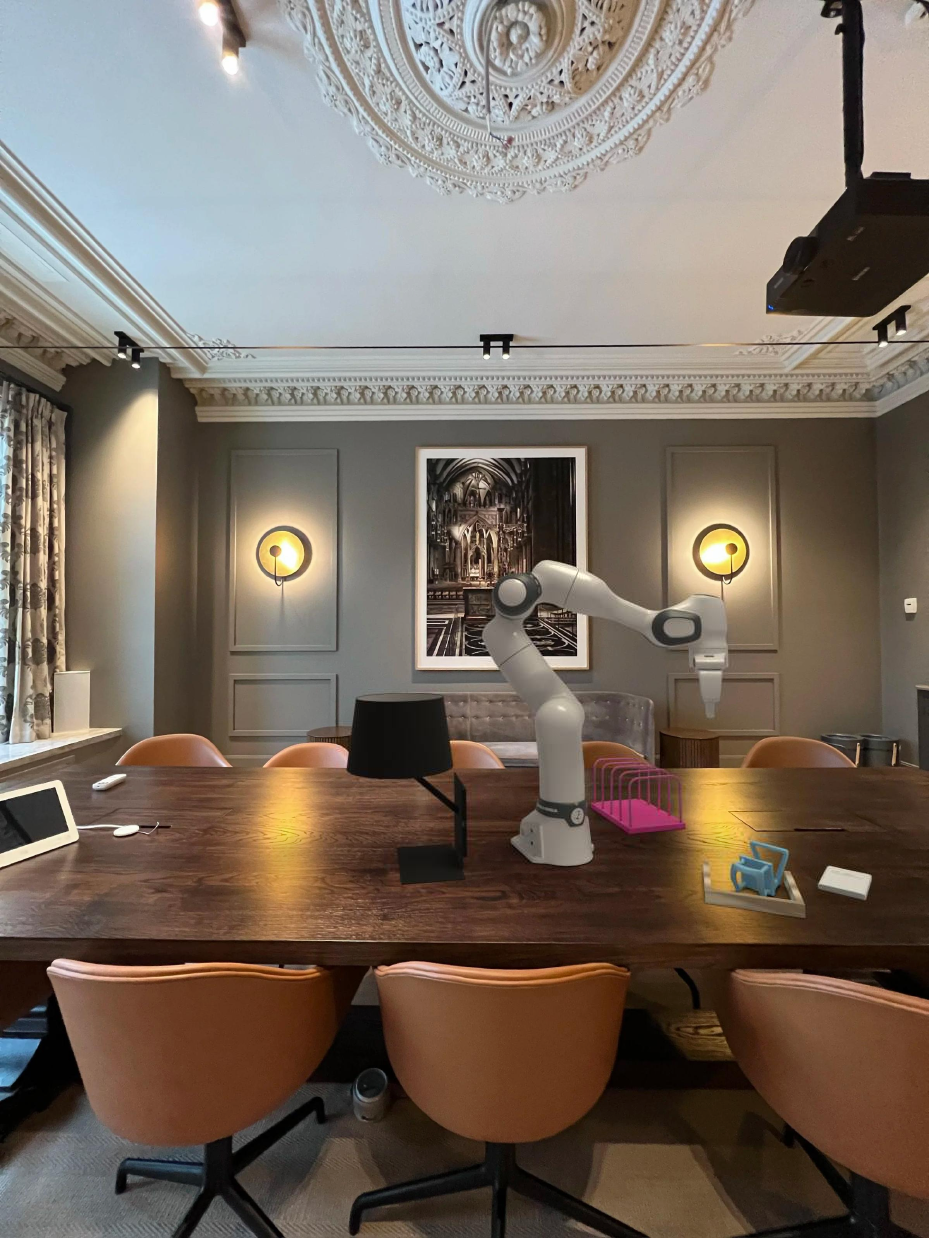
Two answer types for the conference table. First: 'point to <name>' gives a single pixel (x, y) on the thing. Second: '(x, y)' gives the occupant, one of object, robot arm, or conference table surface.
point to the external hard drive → (845, 882)
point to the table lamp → (411, 769)
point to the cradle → (756, 898)
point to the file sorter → (637, 803)
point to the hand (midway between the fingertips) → (710, 717)
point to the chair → (758, 871)
